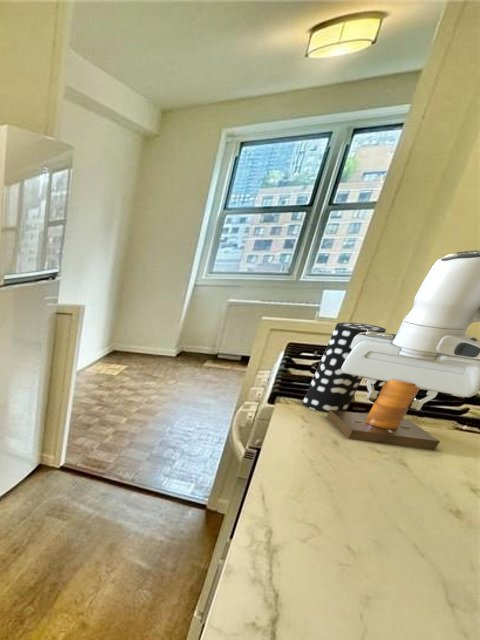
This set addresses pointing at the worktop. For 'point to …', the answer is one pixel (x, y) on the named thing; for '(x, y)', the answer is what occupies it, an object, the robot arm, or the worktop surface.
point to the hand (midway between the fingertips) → (392, 404)
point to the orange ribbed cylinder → (392, 404)
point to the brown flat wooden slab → (381, 431)
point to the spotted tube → (336, 371)
